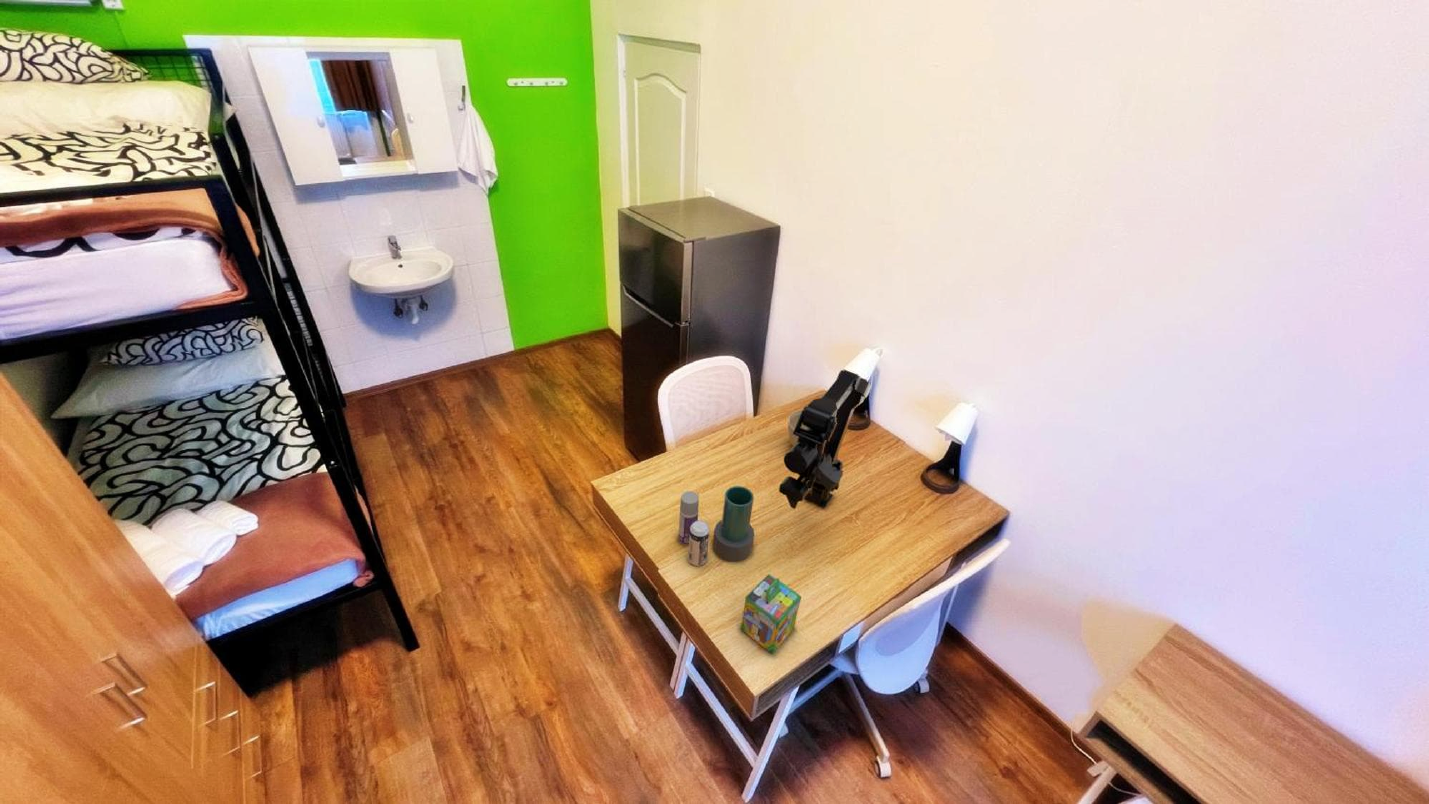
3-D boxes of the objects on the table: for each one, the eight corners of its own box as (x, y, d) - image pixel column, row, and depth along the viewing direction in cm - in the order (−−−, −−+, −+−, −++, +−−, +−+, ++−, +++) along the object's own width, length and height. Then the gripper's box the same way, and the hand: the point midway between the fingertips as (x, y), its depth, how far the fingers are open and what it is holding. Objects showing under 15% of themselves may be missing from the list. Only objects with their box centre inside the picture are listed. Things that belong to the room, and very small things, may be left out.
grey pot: (726, 526, 151) (727, 511, 148) (758, 543, 147) (761, 528, 144) (705, 549, 144) (706, 534, 141) (739, 568, 140) (741, 553, 137)
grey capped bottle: (704, 568, 139) (707, 535, 132) (686, 564, 139) (688, 531, 133) (708, 554, 143) (711, 521, 136) (690, 550, 143) (692, 517, 137)
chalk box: (772, 655, 121) (781, 613, 112) (739, 629, 125) (746, 587, 117) (795, 627, 127) (806, 586, 118) (763, 603, 131) (771, 562, 123)
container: (698, 535, 148) (702, 493, 139) (692, 548, 144) (695, 506, 136) (682, 530, 149) (684, 488, 140) (675, 542, 145) (677, 500, 137)
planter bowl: (836, 467, 175) (843, 440, 169) (786, 464, 175) (791, 436, 169) (828, 436, 189) (834, 410, 183) (781, 433, 188) (786, 407, 182)
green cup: (745, 521, 146) (751, 485, 139) (750, 541, 140) (755, 505, 133) (719, 521, 145) (723, 486, 138) (722, 542, 139) (726, 506, 132)
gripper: (826, 485, 125) (814, 533, 134) (856, 444, 138) (843, 491, 147) (782, 465, 130) (773, 513, 138) (815, 428, 143) (805, 474, 152)
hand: (800, 497), depth 144 cm, fingers open, 9 cm apart
